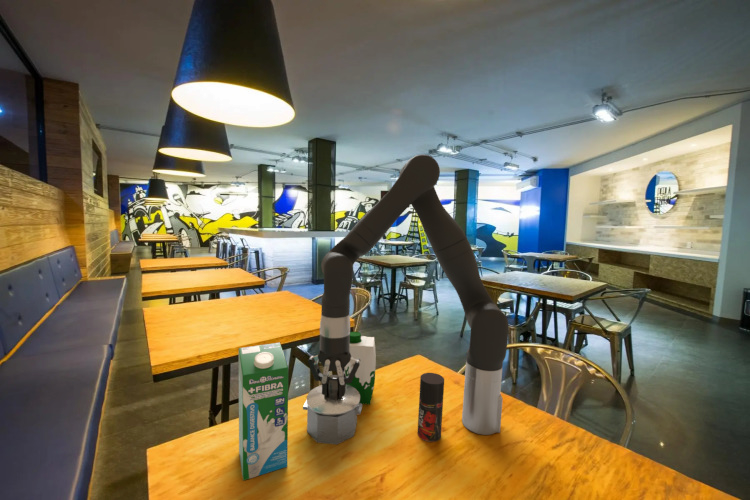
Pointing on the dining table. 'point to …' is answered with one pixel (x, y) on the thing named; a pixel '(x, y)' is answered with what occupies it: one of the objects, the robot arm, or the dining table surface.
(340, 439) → the pot
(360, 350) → the soya milk
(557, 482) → the dining table surface
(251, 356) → the milk carton
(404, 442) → the dining table surface
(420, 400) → the deodorant
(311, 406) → the lid
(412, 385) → the dining table surface
